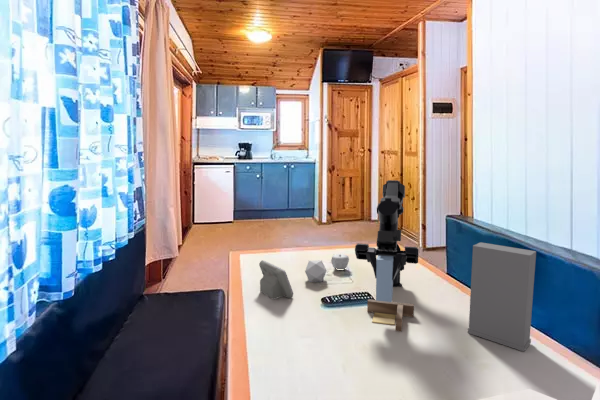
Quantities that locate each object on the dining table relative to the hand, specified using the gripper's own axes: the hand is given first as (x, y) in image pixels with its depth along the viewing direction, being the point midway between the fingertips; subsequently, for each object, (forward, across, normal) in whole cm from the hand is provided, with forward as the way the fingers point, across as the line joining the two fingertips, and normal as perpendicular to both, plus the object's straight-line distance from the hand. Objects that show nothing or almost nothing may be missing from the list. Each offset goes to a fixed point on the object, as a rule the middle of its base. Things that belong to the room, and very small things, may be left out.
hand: (384, 278), depth 110 cm
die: (-10, -29, +30) cm, 42 cm away
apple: (-21, -22, +41) cm, 51 cm away
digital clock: (+1, -39, +18) cm, 43 cm away
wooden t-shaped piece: (+9, +2, +10) cm, 13 cm away
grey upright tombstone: (+11, +30, +8) cm, 33 cm away
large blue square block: (+4, 0, +6) cm, 7 cm away
